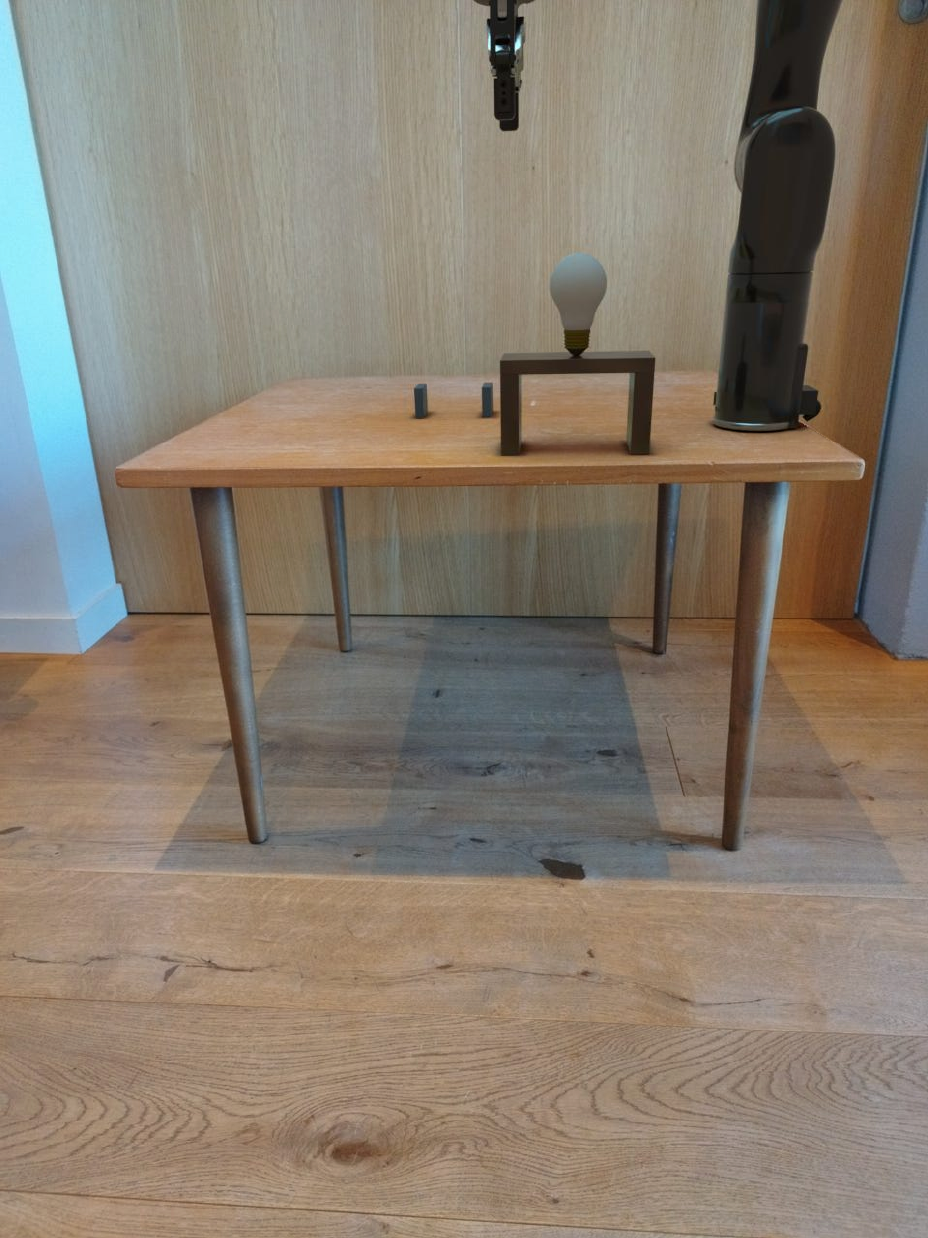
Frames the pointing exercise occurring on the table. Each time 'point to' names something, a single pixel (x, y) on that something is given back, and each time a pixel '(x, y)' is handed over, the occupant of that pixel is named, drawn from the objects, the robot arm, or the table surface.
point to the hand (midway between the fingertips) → (507, 125)
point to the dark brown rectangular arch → (586, 363)
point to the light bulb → (578, 297)
